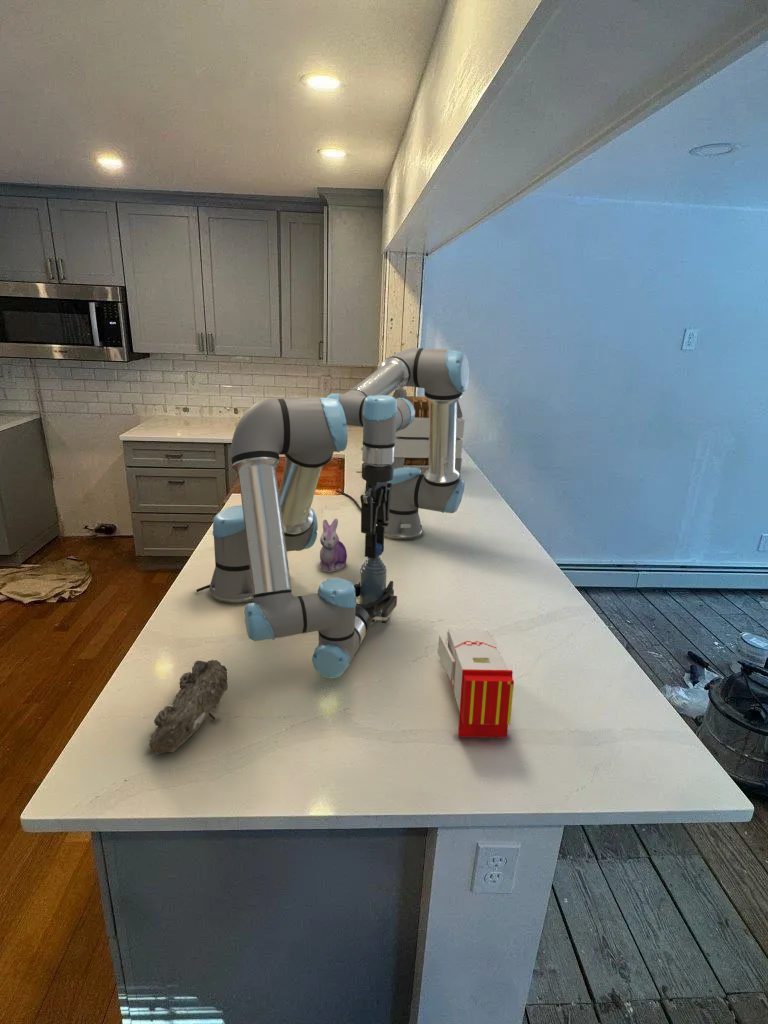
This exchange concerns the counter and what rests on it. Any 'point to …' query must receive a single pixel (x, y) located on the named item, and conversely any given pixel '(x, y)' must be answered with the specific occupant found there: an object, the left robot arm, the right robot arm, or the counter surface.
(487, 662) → the toy
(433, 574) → the counter surface
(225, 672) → the fossil
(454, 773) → the counter surface
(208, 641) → the counter surface
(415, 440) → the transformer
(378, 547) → the cap
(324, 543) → the figurine
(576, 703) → the counter surface
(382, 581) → the bottle
